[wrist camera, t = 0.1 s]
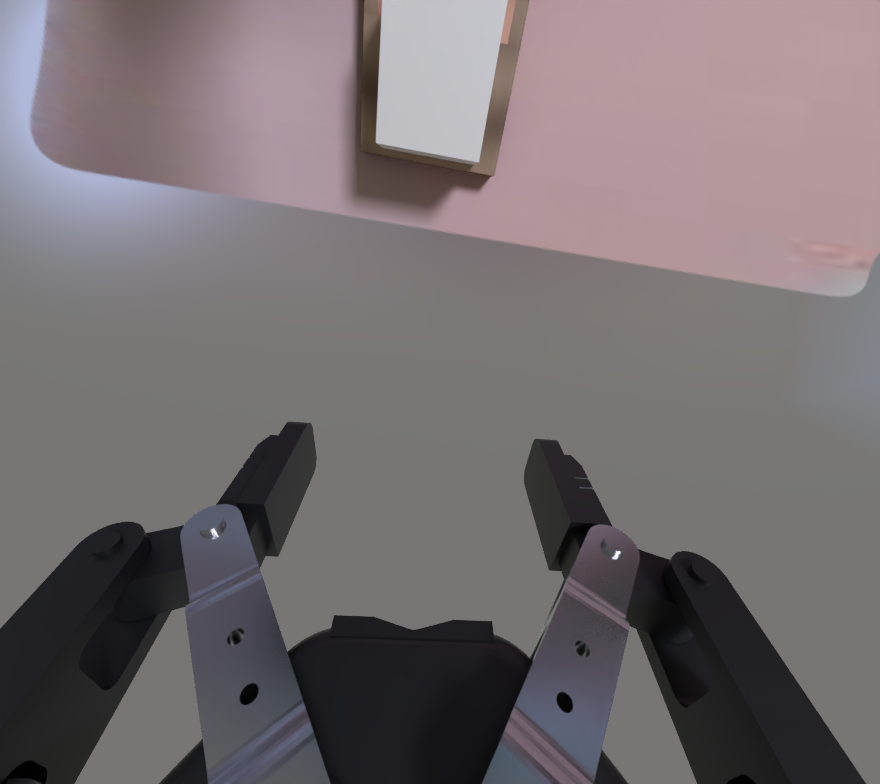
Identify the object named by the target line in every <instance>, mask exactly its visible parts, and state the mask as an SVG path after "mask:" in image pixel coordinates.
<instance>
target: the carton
mask: <svg viewBox="0 0 880 784" xmlns="http://www.w3.org/2000/svg"><path fill="white" fill-rule="evenodd" d="M507 2H508V0H382V13H381V35H380V58H379V80H378V102H377V124H376V144H378V145H380V146H381V147H383V148H385V149H390V150H396V151H401V152H406V153H411V154H417V155H422V156H427V157H433V158H438V159H443V160H449V161H454V162H459V163H464V164H470V165H475V164H477V163H479V159H480V154H481V148H482V142H483V137H484V131H485V126H486V120H487V114H488V109H489V103H490V98H491V92H492V86H493V81H494V75H495V70H496V64H497V58H498V53H499V47H500V41H501V36H502V30H503V25H504V19H505V13H506V8H507Z"/></svg>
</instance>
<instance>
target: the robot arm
mask: <svg viewBox="0 0 880 784" xmlns="http://www.w3.org/2000/svg"><path fill="white" fill-rule="evenodd" d="M315 467H316V450H315V442H314V435H313V428H312V425H311V423H301V422H287V423H286V425H285V426H284V428H283V429H282V431H281V432H280V434H279V436H277V435H270V436H269V437H268V438H266V439H265V440H263V441H262V442H261V443H259V444H258V445H257V446H256V448H255V449H254V451H253V452H252V454H251V455H250V458H248V459H247V461H246V462H245V464H244V465H243V468H242V469H241V470H240V471H239V473H238V474H237V475H236V477H235V478H234V480H233V481H232V483H231V484H230V486H229V487H228V488H227V490H226V491H225V493H224V494H223V496H222V497H221V499H220V500H219V502H218V503H217V504H216V505H214V506H211V507H208V508H206V509H203V510H201V511H199V512H198V513H197V514H195V515H193V516H192V517H191V518H190V519H189V520H188V521H187V522H186V523H185V525H183V526H179V527H175V528H170V529H165V530H160V531H155V532H151V533H146V532H145V531H144V529H143V527H142V526H141V525H140V524H137V523H134V522H121V523H116V524H112V525H109V526H107V527H104V528H102V529H100V530H98V531H96V532H94V533H92V534H91V535H89V536H88V537H86V538H85V539H84V540H83V541H81V542H80V543H79V544H78V545H77V546H76V547H75V548H74V550H73V551H72V552H71V553H70V554H69V555H68V556H67V557H66V558H65V559H64V560H63V561H62V562H61V563H60V565H59V566H58V567H57V568H56V569H55V570H54V571H53V572H52V573H51V574H50V575H49V577H48V578H47V579H46V580H45V581H44V582H43V583H42V584H41V585H40V586H39V587H38V588H37V590H36V591H35V592H34V593H33V594H32V595H31V596H30V597H29V598H28V599H27V601H25V603H24V604H23V605H22V606H21V607H20V608H19V609H18V610H17V611H16V612H15V613H14V614H13V616H12V617H11V618H10V619H9V620H8V621H7V622H6V623H5V624H4V625H3V626H2V628H1V629H0V784H74V783H75V782H76V780H77V778H78V776H79V774H80V773H81V771H82V769H83V767H84V765H85V764H86V762H87V760H88V758H89V757H90V755H91V753H92V751H93V749H94V748H95V746H96V744H97V742H98V741H99V739H100V737H101V735H102V734H103V732H104V730H105V728H106V726H107V725H108V723H109V721H110V719H111V718H112V716H113V714H114V712H115V710H116V709H117V707H118V705H119V703H120V701H121V700H122V698H123V696H124V694H125V693H126V691H127V689H128V687H129V685H130V684H131V682H132V680H133V678H134V677H135V675H136V673H137V671H138V669H139V668H140V665H141V664H142V662H143V660H144V659H145V657H146V655H147V653H148V652H149V650H150V648H151V646H152V645H153V643H154V641H155V639H156V637H157V636H158V634H159V632H160V630H161V629H162V627H163V625H164V623H165V621H166V620H167V618H168V616H169V614H170V612H171V611H172V610H175V609H178V608H182V607H185V614H186V622H187V630H188V637H189V644H190V652H191V659H192V666H193V673H194V681H195V688H196V695H197V702H198V710H199V717H200V724H201V732H202V740H201V741H200V742H199V743H198V744H197V745H196V746H195V747H194V748H193V749H192V750H191V751H190V752H189V753H188V754H187V755H186V756H185V757H184V758H183V759H182V760H181V761H180V762H179V763H178V765H177V766H176V767H175V768H174V769H173V770H172V771H171V772H170V773H169V774H168V775H167V776H166V777H165V778H164V779H163V780H162V781H161V782H160V783H159V784H628V783H627V781H626V780H625V779H624V778H623V776H622V775H621V774H620V772H619V771H618V770H617V768H616V767H615V766H614V765H613V764H612V762H611V761H610V759H609V758H608V757H607V756H606V754H605V753H604V752H603V750H602V745H603V741H604V737H605V732H606V728H607V724H608V719H609V715H610V711H611V706H612V702H613V698H614V693H615V689H616V685H617V681H618V676H619V672H620V667H621V663H622V659H623V655H624V650H625V646H626V641H627V637H628V633H629V626H631V627H633V628H636V629H637V632H638V634H639V637H640V639H641V642H642V644H643V647H644V650H645V652H646V654H647V657H648V660H649V662H650V665H651V667H652V670H653V672H654V675H655V677H656V680H657V683H658V685H659V687H660V690H661V693H662V695H663V698H664V700H665V703H666V705H667V708H668V710H669V713H670V716H671V718H672V720H673V723H674V726H675V728H676V731H677V733H678V736H679V738H680V741H681V743H682V746H683V748H684V751H685V754H686V756H687V759H688V761H689V764H690V766H691V769H692V771H693V774H694V777H695V779H696V782H697V784H866V783H865V782H864V780H863V779H862V778H861V776H860V774H859V773H858V771H857V770H856V768H855V767H854V765H853V764H852V762H851V761H850V759H849V758H848V757H847V755H846V754H845V752H844V751H843V749H842V748H841V746H840V745H839V743H838V742H837V740H836V739H835V738H834V736H833V734H832V733H831V731H830V730H829V728H828V727H827V725H826V724H825V723H824V721H823V720H822V718H821V716H820V715H819V713H818V712H817V711H816V709H815V708H814V706H813V705H812V703H811V702H810V700H809V699H808V697H807V696H806V694H805V693H804V691H803V690H802V688H801V687H800V685H799V684H798V682H797V681H796V680H795V678H794V676H793V675H792V674H791V672H790V671H789V669H788V668H787V666H786V665H785V663H784V662H783V661H782V659H781V657H780V656H779V654H778V653H777V651H776V650H775V648H774V647H773V645H772V644H771V642H770V641H769V640H768V638H767V637H766V635H765V634H764V632H763V631H762V629H761V628H760V626H759V625H758V623H757V622H756V620H755V619H754V617H753V616H752V614H751V613H750V611H749V610H748V608H747V607H746V605H745V604H744V603H743V601H742V599H741V598H740V597H739V595H738V594H737V592H736V591H735V589H734V588H733V586H732V585H731V583H730V582H729V580H728V579H727V577H726V576H725V575H724V574H723V572H722V571H720V569H719V568H718V567H717V566H715V565H714V564H713V563H711V562H710V561H709V560H707V559H706V558H704V557H702V556H700V555H698V554H695V553H692V552H687V551H681V552H677V553H675V554H674V555H673V557H672V558H671V559H670V560H668V559H665V558H662V557H659V556H656V555H653V554H650V553H647V552H644V551H642V550H639V549H637V547H636V545H635V543H634V542H633V541H632V540H631V539H630V538H629V537H628V536H627V535H626V534H625V533H623V532H622V531H620V530H619V529H616V528H615V527H613V526H612V525H611V523H610V521H609V519H608V517H607V515H606V513H605V511H604V509H603V507H602V505H601V503H600V501H599V499H598V497H597V496H596V493H595V491H594V490H593V489H592V485H591V483H590V481H589V480H588V479H587V475H586V474H585V471H584V470H583V468H582V466H581V465H580V464H579V463H578V462H577V461H576V460H575V459H574V458H573V457H572V456H571V455H564V454H563V451H562V449H561V447H560V445H559V443H558V441H556V440H545V439H535V440H534V442H533V444H532V448H531V451H530V455H529V458H528V461H527V464H526V467H525V473H524V484H525V488H526V491H527V495H528V499H529V502H530V505H531V509H532V512H533V516H534V519H535V523H536V526H537V530H538V533H539V537H540V540H541V544H542V547H543V551H544V554H545V558H546V561H547V564H548V568H549V570H553V571H562V574H563V577H564V581H563V583H562V585H561V587H560V590H559V592H558V594H557V596H556V599H555V601H554V603H553V605H552V607H551V610H550V612H549V614H548V617H547V619H546V621H545V623H544V626H543V628H542V630H541V632H540V635H539V637H538V639H537V641H536V643H535V646H534V647H533V650H532V651H531V654H530V656H529V657H528V656H527V655H526V654H525V653H524V652H523V651H522V650H520V649H519V648H518V647H517V646H515V645H514V644H512V643H511V642H509V641H507V640H505V639H503V638H501V637H499V636H497V635H494V634H493V626H492V621H467V620H466V621H465V620H452V621H448V622H444V623H440V624H437V625H433V626H429V627H425V628H421V629H417V630H411V629H407V628H405V627H402V626H399V625H396V624H393V623H390V622H387V621H384V620H381V619H378V618H375V617H363V616H337V615H334V619H333V623H332V627H331V628H330V629H326V630H323V631H321V632H318V633H316V634H313V635H312V636H310V637H308V638H306V639H304V640H303V641H301V642H300V643H298V644H297V645H296V646H294V647H293V648H292V649H290V650H289V651H288V652H287V650H286V647H285V644H284V641H283V638H282V635H281V632H280V629H279V626H278V623H277V620H276V617H275V613H274V610H273V607H272V604H271V601H270V598H269V595H268V593H267V589H266V586H265V583H264V580H263V577H262V574H261V571H260V566H261V564H262V562H263V560H264V558H265V556H279V553H280V551H281V549H282V546H283V544H284V542H285V539H286V537H287V535H288V532H289V530H290V528H291V525H292V523H293V521H294V518H295V516H296V514H297V511H298V509H299V507H300V504H301V502H302V500H303V497H304V495H305V493H306V490H307V488H308V486H309V483H310V481H311V479H312V476H313V474H314V471H315Z"/></svg>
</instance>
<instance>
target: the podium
mask: <svg viewBox="0 0 880 784" xmlns="http://www.w3.org/2000/svg"><path fill="white" fill-rule="evenodd" d="M528 5H529V0H508V2H507V8H506V13H505V19H504V25H503V30H502V36H501V41H500V47H499V53H498V58H497V64H496V70H495V75H494V81H493V86H492V92H491V98H490V103H489V109H488V114H487V120H486V126H485V131H484V137H483V142H482V148H481V154H480V159H479V163H477V164H475V165H470V164H464V163H459V162H454V161H449V160H443V159H438V158H433V157H427V156H422V155H417V154H411V153H406V152H401V151H396V150H390V149H385V148H383V147H381V146H380V145H378V144H376V124H377V102H378V80H379V58H380V35H381V13H382V0H364V31H363V69H362V107H361V145H360V151H362V152H364V153H369V154H374V155H380V156H385V157H390V158H396V159H401V160H406V161H412V162H417V163H422V164H428V165H433V166H439V167H444V168H449V169H455V170H460V171H465V172H471V173H476V174H481V175H487V176H494V174H495V169H496V164H497V159H498V154H499V149H500V144H501V140H502V135H503V130H504V125H505V120H506V115H507V110H508V105H509V100H510V95H511V90H512V85H513V80H514V75H515V70H516V65H517V60H518V55H519V50H520V45H521V40H522V35H523V30H524V25H525V20H526V15H527V10H528Z"/></svg>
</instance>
